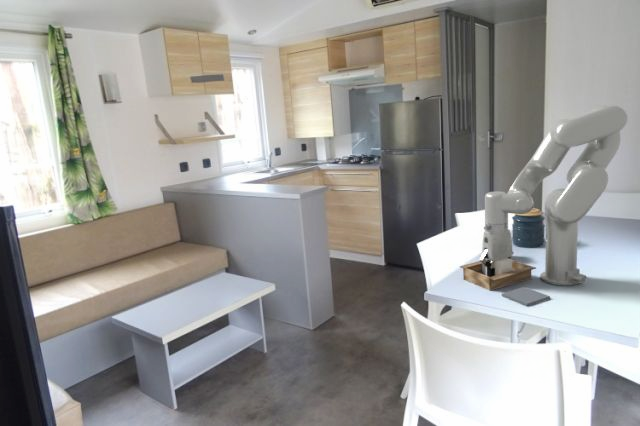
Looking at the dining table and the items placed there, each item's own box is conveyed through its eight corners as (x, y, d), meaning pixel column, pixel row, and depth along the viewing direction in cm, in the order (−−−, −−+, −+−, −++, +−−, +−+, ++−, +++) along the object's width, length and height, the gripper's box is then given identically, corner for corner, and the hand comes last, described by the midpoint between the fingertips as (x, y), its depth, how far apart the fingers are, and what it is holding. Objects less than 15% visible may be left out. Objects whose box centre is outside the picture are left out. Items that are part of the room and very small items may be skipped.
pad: (549, 298, 142) (550, 296, 142) (526, 306, 138) (526, 303, 138) (524, 289, 151) (524, 286, 151) (501, 295, 147) (501, 293, 147)
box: (512, 280, 159) (512, 259, 157) (501, 284, 157) (501, 262, 155) (492, 273, 167) (492, 253, 165) (482, 276, 165) (482, 256, 163)
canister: (538, 239, 204) (538, 200, 200) (549, 247, 191) (550, 206, 188) (508, 240, 205) (508, 202, 202) (517, 248, 193) (517, 208, 189)
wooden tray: (536, 279, 158) (536, 267, 157) (494, 292, 151) (494, 279, 150) (499, 267, 173) (498, 256, 172) (459, 278, 166) (459, 266, 165)
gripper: (485, 233, 151) (486, 284, 155) (523, 224, 158) (523, 273, 161) (469, 229, 158) (471, 278, 162) (506, 221, 165) (506, 268, 168)
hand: (497, 275), depth 162 cm, fingers closed on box, 5 cm apart
